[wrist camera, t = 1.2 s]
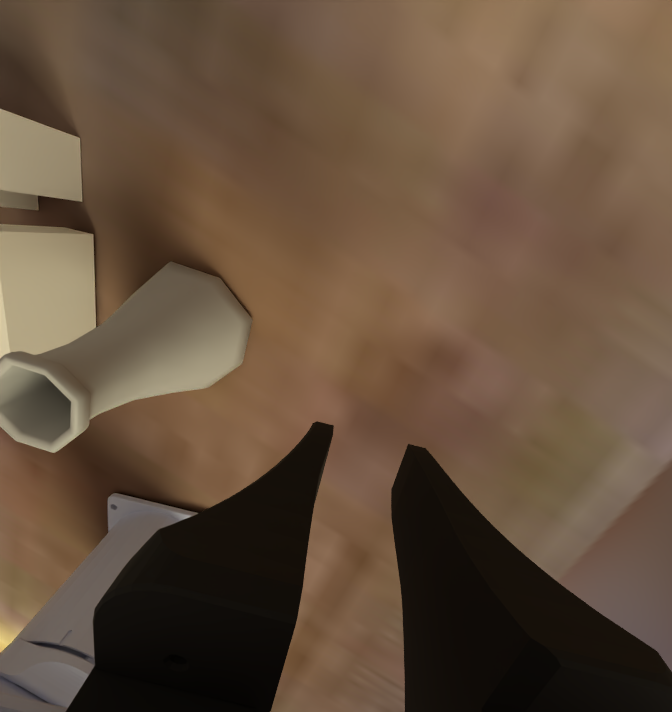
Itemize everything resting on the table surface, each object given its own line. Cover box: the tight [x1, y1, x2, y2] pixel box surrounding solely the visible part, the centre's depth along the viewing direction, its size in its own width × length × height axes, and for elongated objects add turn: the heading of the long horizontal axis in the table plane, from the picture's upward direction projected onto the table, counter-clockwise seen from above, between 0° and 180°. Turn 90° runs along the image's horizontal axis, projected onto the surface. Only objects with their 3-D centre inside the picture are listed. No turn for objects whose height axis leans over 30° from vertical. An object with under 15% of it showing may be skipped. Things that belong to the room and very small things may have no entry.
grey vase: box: [0, 261, 252, 453], centre depth 15 cm, size 7×7×10 cm
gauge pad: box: [0, 224, 96, 358], centre depth 16 cm, size 12×2×6 cm, turn 167°
